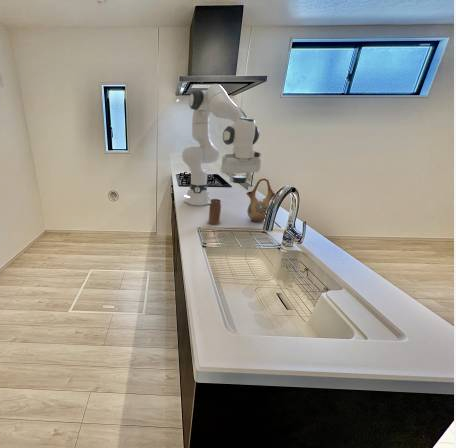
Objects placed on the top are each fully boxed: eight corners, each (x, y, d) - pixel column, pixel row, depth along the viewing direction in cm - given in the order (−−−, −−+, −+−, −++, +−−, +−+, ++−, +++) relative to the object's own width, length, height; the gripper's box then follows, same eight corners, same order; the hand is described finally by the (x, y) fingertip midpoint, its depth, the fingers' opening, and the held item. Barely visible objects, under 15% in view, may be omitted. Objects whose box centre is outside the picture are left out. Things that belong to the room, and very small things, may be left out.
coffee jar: (208, 220, 141) (210, 198, 136) (219, 221, 139) (221, 199, 134) (207, 224, 135) (209, 201, 130) (219, 225, 134) (221, 202, 128)
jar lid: (247, 182, 121) (248, 176, 120) (241, 184, 117) (242, 178, 116) (236, 180, 126) (236, 175, 125) (229, 182, 122) (230, 176, 121)
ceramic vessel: (268, 218, 143) (275, 176, 134) (274, 223, 135) (282, 180, 126) (240, 217, 144) (246, 176, 135) (244, 223, 136) (251, 179, 126)
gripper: (226, 154, 111) (223, 184, 117) (264, 153, 116) (259, 181, 121) (219, 153, 117) (217, 181, 122) (256, 152, 122) (252, 179, 127)
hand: (238, 181), depth 122 cm, fingers closed on jar lid, 6 cm apart
